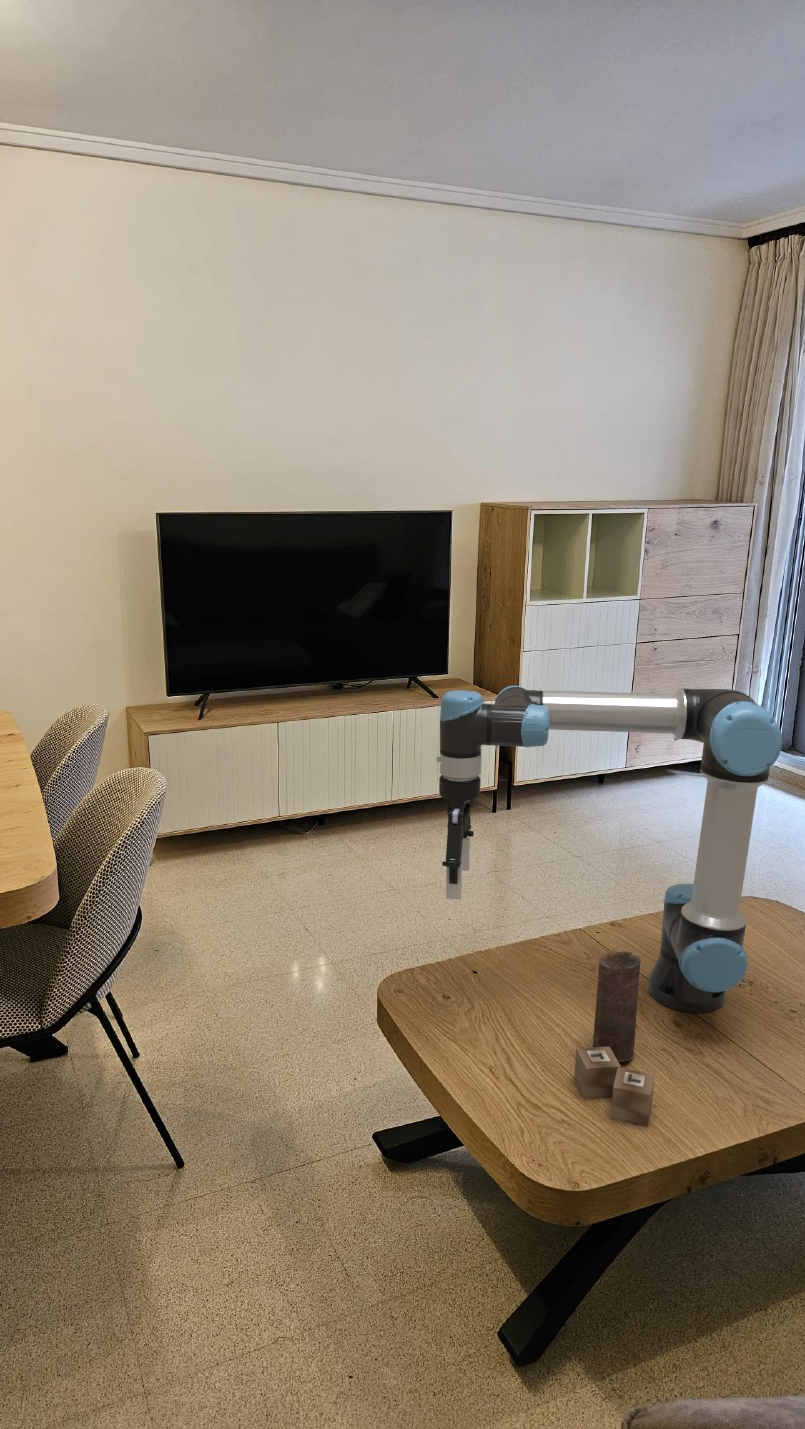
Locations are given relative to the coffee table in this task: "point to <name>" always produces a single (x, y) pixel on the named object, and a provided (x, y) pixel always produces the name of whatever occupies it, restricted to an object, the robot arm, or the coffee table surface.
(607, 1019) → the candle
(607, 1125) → the coffee table surface
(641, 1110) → the block seven
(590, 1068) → the block two
